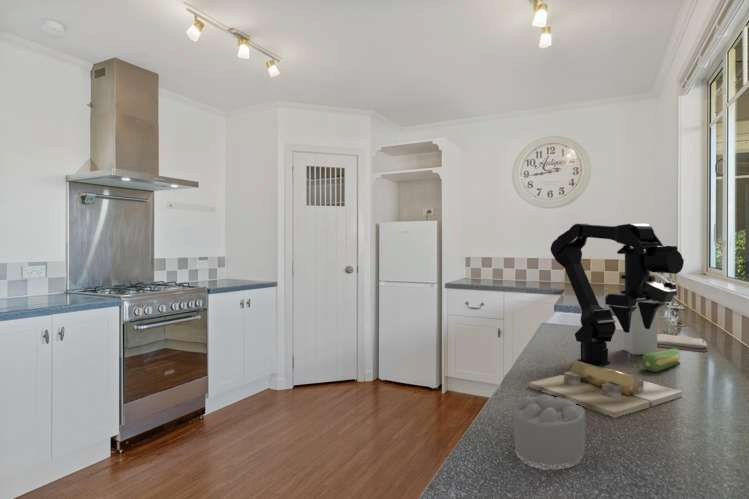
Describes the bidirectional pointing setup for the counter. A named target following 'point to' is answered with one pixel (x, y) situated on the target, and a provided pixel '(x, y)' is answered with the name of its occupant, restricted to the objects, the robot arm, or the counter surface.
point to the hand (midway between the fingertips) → (637, 330)
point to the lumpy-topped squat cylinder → (549, 429)
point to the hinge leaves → (605, 394)
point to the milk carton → (640, 335)
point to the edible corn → (660, 360)
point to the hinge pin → (605, 377)
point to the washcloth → (681, 342)
